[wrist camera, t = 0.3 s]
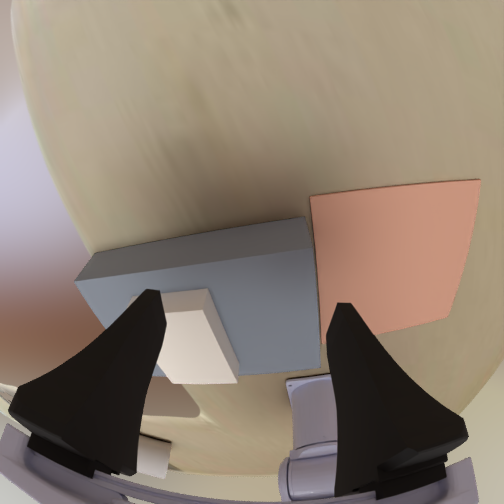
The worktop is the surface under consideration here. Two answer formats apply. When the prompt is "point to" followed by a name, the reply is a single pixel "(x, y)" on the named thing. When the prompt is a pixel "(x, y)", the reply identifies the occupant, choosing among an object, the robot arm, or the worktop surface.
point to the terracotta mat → (393, 251)
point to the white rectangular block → (195, 341)
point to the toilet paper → (153, 457)
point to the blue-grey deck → (225, 288)
